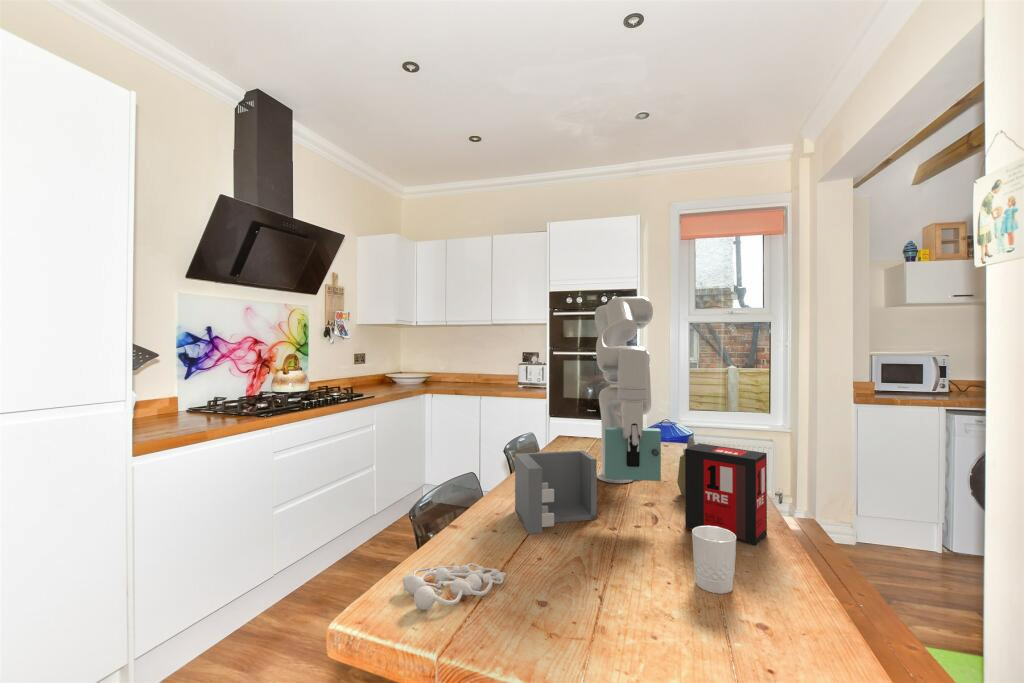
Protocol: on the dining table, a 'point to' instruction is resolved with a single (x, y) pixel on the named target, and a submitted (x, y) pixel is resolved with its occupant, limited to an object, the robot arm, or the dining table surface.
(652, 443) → the cabinet door
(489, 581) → the tangled rod sculpture
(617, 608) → the dining table surface
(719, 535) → the white cup
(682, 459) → the squeeze bottle
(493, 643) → the dining table surface
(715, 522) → the cleaning product box
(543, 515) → the cabinet
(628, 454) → the robot arm
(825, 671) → the dining table surface
